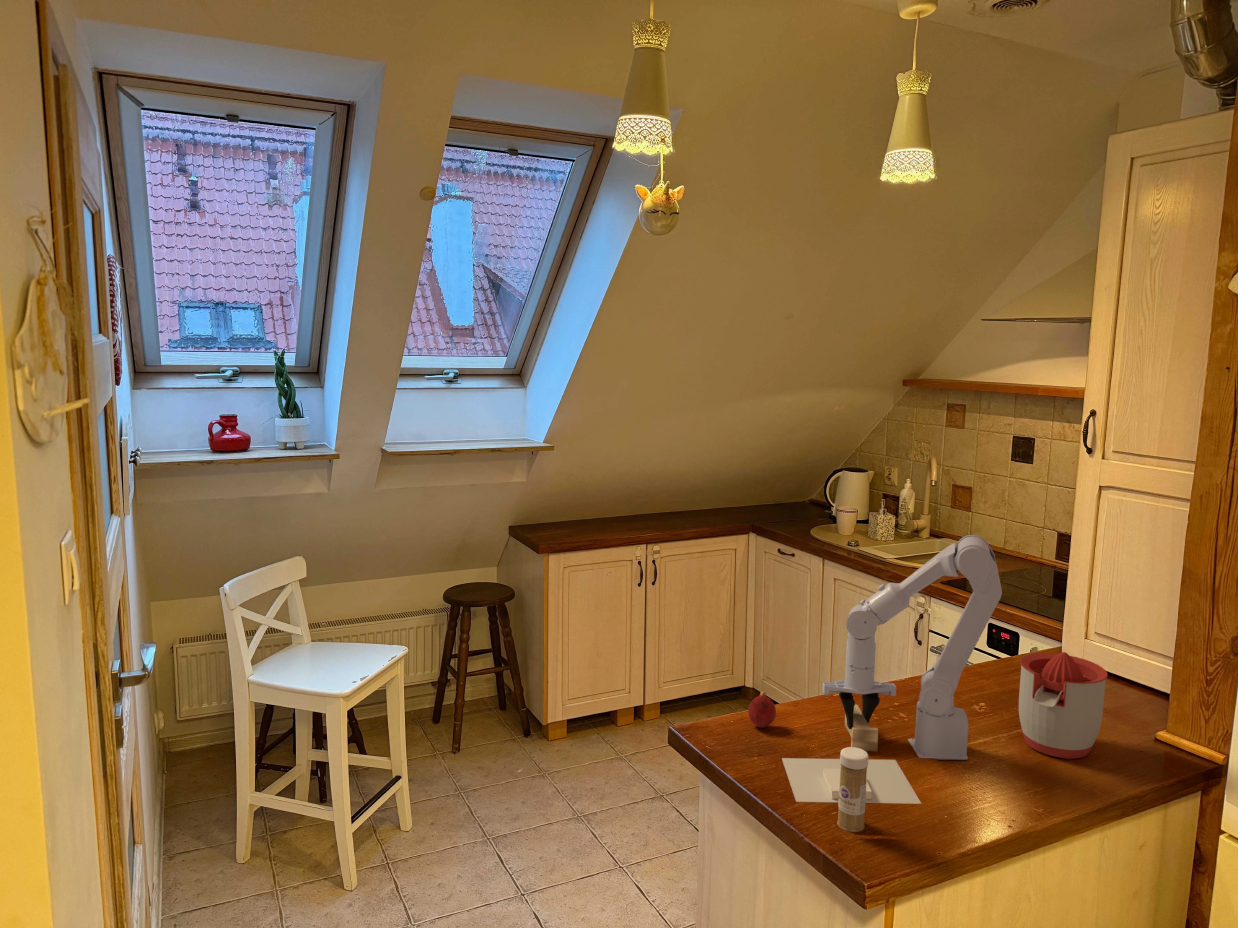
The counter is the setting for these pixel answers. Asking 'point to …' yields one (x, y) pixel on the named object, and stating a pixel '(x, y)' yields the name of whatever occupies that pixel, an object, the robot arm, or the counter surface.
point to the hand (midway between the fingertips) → (857, 726)
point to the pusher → (862, 732)
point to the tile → (838, 783)
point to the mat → (809, 772)
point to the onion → (762, 711)
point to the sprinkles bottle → (852, 789)
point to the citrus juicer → (1061, 703)
